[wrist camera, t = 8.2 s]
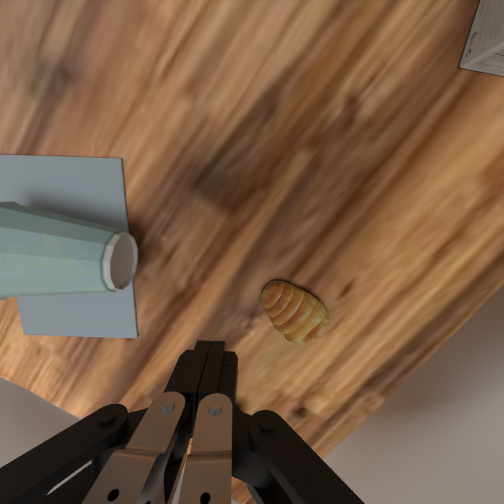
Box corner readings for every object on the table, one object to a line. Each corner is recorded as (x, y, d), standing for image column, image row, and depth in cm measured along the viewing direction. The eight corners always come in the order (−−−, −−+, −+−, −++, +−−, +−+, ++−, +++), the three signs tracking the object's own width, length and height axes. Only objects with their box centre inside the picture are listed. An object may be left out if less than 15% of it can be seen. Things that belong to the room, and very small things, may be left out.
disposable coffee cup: (104, 206, 22) (-69, 184, 22) (88, 328, 22) (-88, 308, 21) (150, 222, 33) (34, 207, 32) (139, 304, 32) (22, 290, 32)
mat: (-11, 154, 30) (-15, 154, 30) (122, 158, 30) (120, 158, 30) (26, 333, 36) (24, 334, 35) (138, 336, 36) (137, 338, 35)
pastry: (248, 301, 35) (248, 314, 31) (282, 266, 33) (286, 275, 30) (297, 341, 36) (302, 358, 32) (331, 309, 35) (340, 323, 31)
